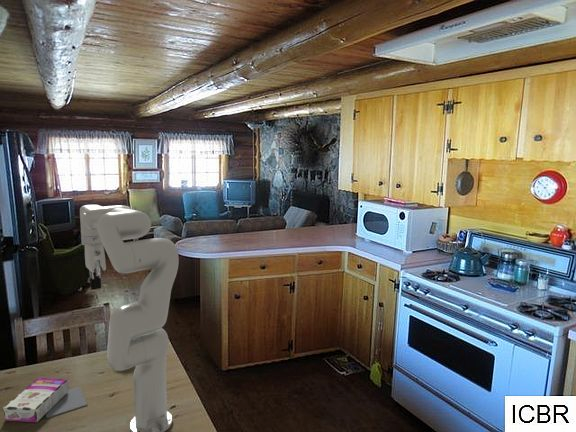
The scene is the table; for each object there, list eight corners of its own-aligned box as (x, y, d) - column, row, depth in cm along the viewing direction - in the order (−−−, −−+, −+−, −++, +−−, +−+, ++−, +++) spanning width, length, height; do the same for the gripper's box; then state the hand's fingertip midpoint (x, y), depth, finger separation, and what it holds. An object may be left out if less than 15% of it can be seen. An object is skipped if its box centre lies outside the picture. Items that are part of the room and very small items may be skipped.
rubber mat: (87, 405, 139) (87, 404, 139) (46, 418, 132) (46, 417, 132) (79, 387, 150) (79, 386, 149) (40, 398, 142) (40, 397, 142)
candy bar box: (40, 390, 147) (3, 421, 131) (38, 377, 146) (1, 406, 130) (69, 392, 145) (36, 423, 129) (68, 379, 144) (34, 409, 128)
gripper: (110, 241, 146) (112, 292, 148) (98, 234, 157) (101, 281, 160) (87, 244, 141) (90, 296, 144) (76, 236, 152) (79, 285, 155)
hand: (95, 288), depth 152 cm, fingers closed
